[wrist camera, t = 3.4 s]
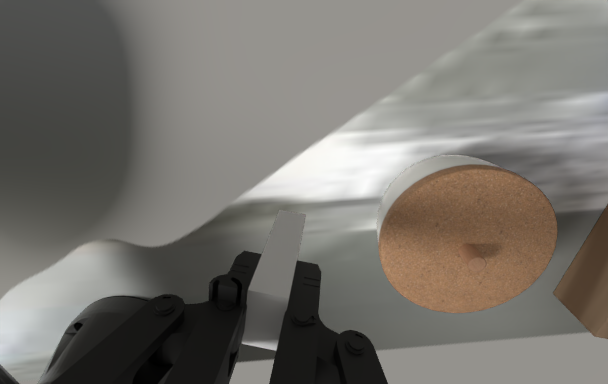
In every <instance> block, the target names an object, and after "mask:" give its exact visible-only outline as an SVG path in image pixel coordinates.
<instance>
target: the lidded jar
mask: <svg viewBox="0 0 608 384" xmlns="http://www.w3.org/2000/svg"><path fill="white" fill-rule="evenodd" d="M377 239H378V244H379V256H380V260H381V263H382V267H383V270H384V272H385V274H386V276H387V278H388V280H389V281H390V283H391V284H392V285H393V287H394V288H395V289H396V290H397V291H398V292H399V293H400V294H401V295H402V296H404V297H405V298H407V299H408V300H410V301H411V302H414V303H416V304H418V305H420V306H422V307H425V308H428V309H431V310H435V311H441V312H449V313H465V312H474V311H480V310H485V309H488V308H491V307H494V306H497V305H499V304H502V303H504V302H507V301H508V300H510V299H512V298H514V297H515V296H517V295H519V294H520V293H521V292H523V291H524V290H526V289H527V288H528V287H529V286H530V285H532V284H533V283H534V282H535V281H536V280H537V279H538V277H539V276H540V275H541V274H542V272H543V271H544V270H545V269H546V267H547V265H548V263H549V261H550V260H551V258H552V255H553V252H554V250H555V247H556V240H557V220H556V216H555V212H554V210H553V208H552V206H551V204H550V202H549V200H548V199H547V197H546V196H545V195H544V194H543V192H542V191H541V190H540V189H539V188H537V187H536V186H535V185H534V184H533V183H531V182H530V181H528V180H527V179H525V178H523V177H521V176H519V175H517V174H516V173H514V172H512V171H509V170H506V169H503V168H502V167H500V166H498V165H496V164H494V163H491V162H488V161H485V160H482V159H479V158H476V157H470V156H464V155H441V156H435V157H431V158H427V159H424V160H422V161H420V162H417V163H415V164H413V165H411V166H410V167H408V168H406V169H405V170H404V171H403V172H401V173H400V174H399V175H398V176H397V177H396V178H395V179H394V180H393V181H392V182H391V183H390V185H389V186H388V188H387V189H386V191H385V193H384V195H383V197H382V199H381V202H380V206H379V210H378V214H377Z"/></svg>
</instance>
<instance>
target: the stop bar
mask: <svg viewBox="0 0 608 384" xmlns="http://www.w3.org/2000/svg"><path fill="white" fill-rule="evenodd" d="M553 294H554V295H555V296H556V297H557V298H558V299H559V300H560V301H561V302H562V303H563V304H564V305H565V306H566V308H567V309H568V310H569V311H570V312H571V313H572V314H573V315H574V316H575V317H576V318H577V319H578V320H579V321H580V322H581V323H582V324H583V325H584V326H585V327H586V328H587V329H588V330H589V331H590V332H591V333H592V335H593V336H595V337H600V338H606V339H608V205H607V206H606V208H605V210H604V211H603V213H602V215H601V216H600V218H599V219H598V221H597V223H596V224H595V226H594V228H593V229H592V231H591V232H590V234H589V236H588V237H587V239H586V241H585V242H584V244H583V245H582V247H581V249H580V250H579V252H578V254H577V255H576V257H575V258H574V260H573V262H572V263H571V265H570V267H569V268H568V270H567V271H566V273H565V275H564V276H563V278H562V279H561V281H560V283H559V284H558V286H557V288H556V289H555V291H554V292H553Z"/></svg>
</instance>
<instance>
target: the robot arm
mask: <svg viewBox="0 0 608 384" xmlns="http://www.w3.org/2000/svg"><path fill="white" fill-rule="evenodd" d="M305 217H306V215H305V214H299V213H294V212H289V211H284V210H279V212H278V215H277V217H276V220H275V222H274V225H273V227H272V230H271V232H270V235H269V238H268V240H267V243H266V245H265V248H264V250H263V253H262V254H258V253H253V252H248V251H244V252H242V253H241V254H239V255H238V256H237V257H236V259H235V261H234V263H233V265H232V267H231V269H230V271H229V272H228V274H226V275H220V276H218V277H216V278H214V279H213V280H212V281H211V282H210V284H209V301H207V302H204V303H199V304H184V301H183V299H181V298H180V297H179V296H176V295H172V294H168V295H161V296H158V297H155V298H154V299H152V300H150V301H149V302H148V301H145V300H141V299H137V298H131V297H109V298H104V299H101V300H98V301H96V302H94V303H92V304H90V305H89V306H88V307H87V308H85V309H84V310H83V311H82V312H81V313H80V314H79V315H78V316H77V317H76V318H75V319H74V320H73V321H72V322H71V324H70V325H69V326H68V328H67V329H66V331H65V333H64V335H63V337H62V339H61V340H60V342H59V344H58V346H57V348H56V350H55V352H54V354H53V356H52V357H51V359H50V361H49V363H48V365H47V367H46V369H45V371H44V373H43V374H42V376H41V378H40V380H39V382H38V383H37V384H229V381H230V379H231V375H232V373H233V370H234V367H235V364H236V361H237V358H238V351H239V346H240V343H241V340H242V344H246V345H251V346H255V347H260V348H265V349H270V350H275V351H276V355H275V360H274V364H273V369H272V374H271V378H270V383H269V384H388V383H387V380H386V378H385V375H384V372H383V370H382V367H381V364H380V362H379V359H378V357H377V354H376V351H375V349H374V346H373V344H372V343H371V341H370V340H369V339H368V338H367V337H366V336H365V335H364V334H362V333H360V332H358V331H353V330H348V331H344V332H342V333H341V334H338V333H336V332H334V331H332V330H330V329H328V328H327V327H326V326H325V325H324V324H323V323H322V322H321V320H320V318H319V315H318V308H319V295H320V281H321V271H320V269H319V267H318V265H317V264H312V263H307V262H302V261H297V260H298V255H299V249H300V244H301V239H302V233H303V228H304V223H305ZM0 384H19V383H18V382H17V381H16V380H15V379H14V378H13V377H12V376H11V375H10V374H9V373H8V372H7V371H6V370H5V369H4V368H3V367H2V366H1V365H0Z"/></svg>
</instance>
